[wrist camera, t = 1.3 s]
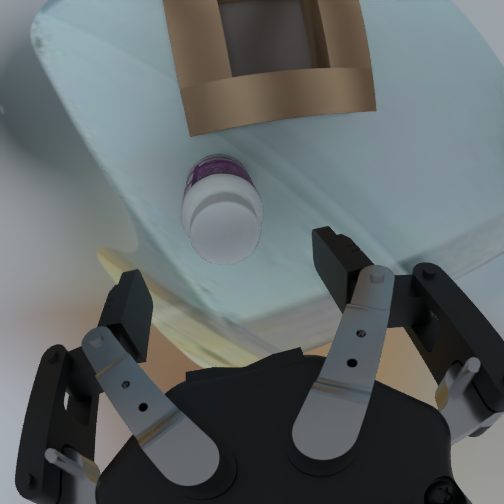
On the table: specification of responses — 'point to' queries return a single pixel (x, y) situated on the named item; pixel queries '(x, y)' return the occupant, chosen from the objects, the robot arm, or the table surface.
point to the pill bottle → (221, 210)
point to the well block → (268, 60)
